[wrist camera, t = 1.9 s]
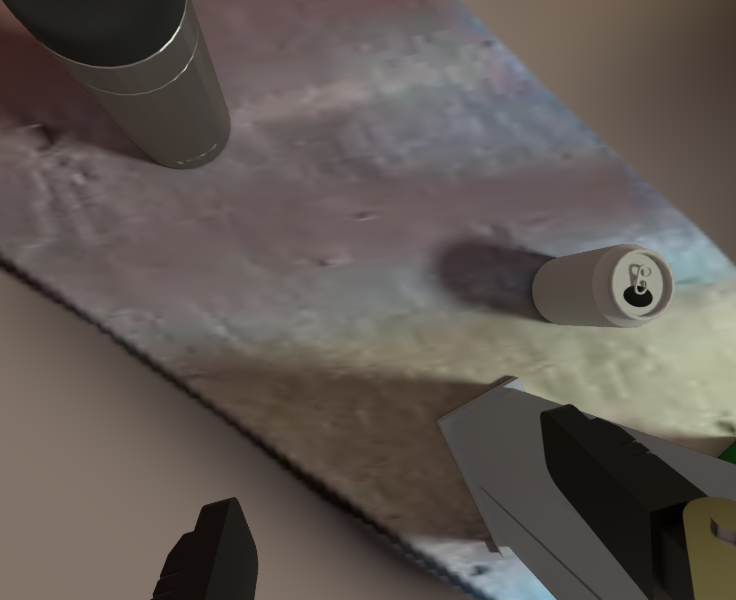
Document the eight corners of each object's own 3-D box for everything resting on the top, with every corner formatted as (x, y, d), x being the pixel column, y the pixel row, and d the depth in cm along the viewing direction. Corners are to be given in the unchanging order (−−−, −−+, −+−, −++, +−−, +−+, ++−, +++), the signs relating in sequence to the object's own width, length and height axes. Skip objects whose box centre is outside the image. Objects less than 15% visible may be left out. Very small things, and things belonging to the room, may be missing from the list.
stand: (435, 420, 44) (778, 681, 13) (514, 376, 46) (986, 513, 15) (499, 552, 45) (967, 1104, 14) (574, 504, 47) (1145, 897, 15)
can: (523, 319, 47) (601, 322, 35) (531, 253, 47) (611, 233, 35) (584, 329, 48) (678, 334, 36) (591, 264, 48) (688, 248, 36)
